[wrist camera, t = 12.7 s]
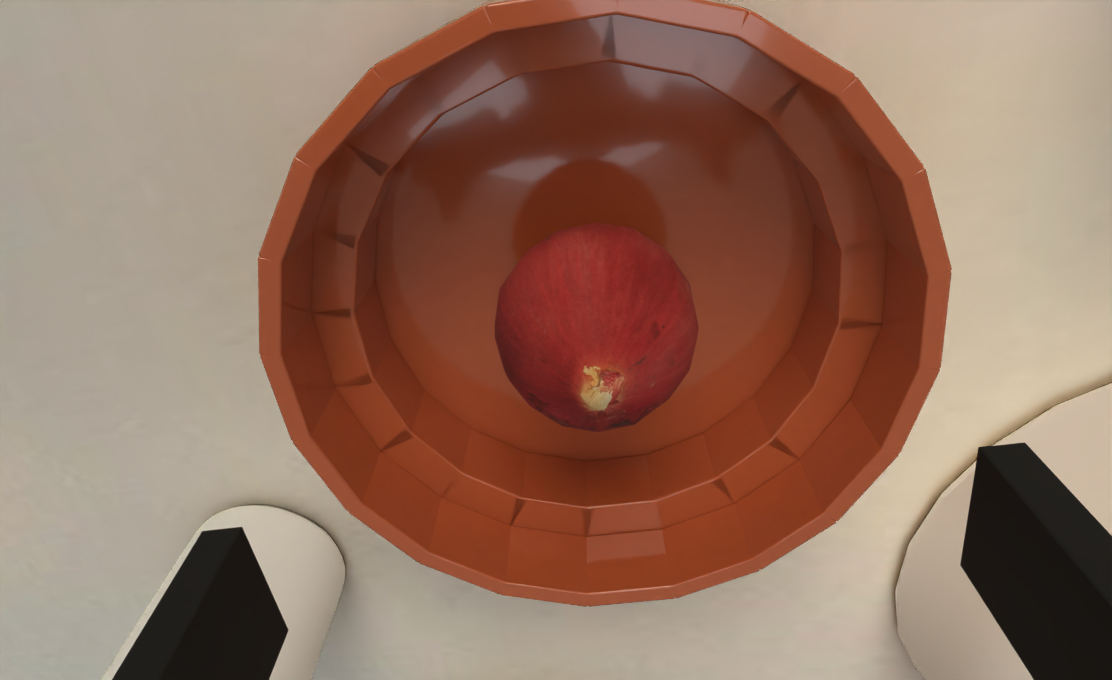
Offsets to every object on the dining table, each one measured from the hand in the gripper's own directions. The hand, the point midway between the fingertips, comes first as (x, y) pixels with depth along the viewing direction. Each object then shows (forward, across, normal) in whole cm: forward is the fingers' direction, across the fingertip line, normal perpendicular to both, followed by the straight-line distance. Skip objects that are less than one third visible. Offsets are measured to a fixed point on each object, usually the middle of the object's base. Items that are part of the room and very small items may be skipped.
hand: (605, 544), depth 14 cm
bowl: (+13, 0, 0) cm, 13 cm away
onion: (+13, 0, 0) cm, 13 cm away
